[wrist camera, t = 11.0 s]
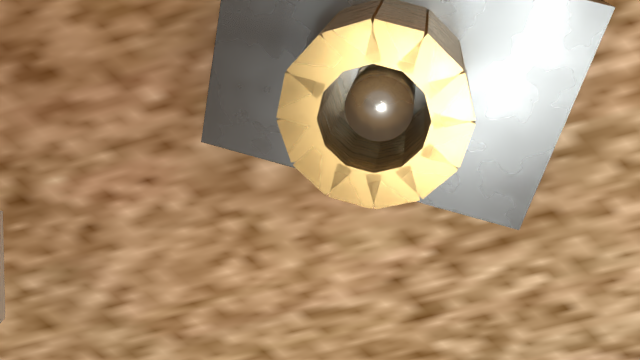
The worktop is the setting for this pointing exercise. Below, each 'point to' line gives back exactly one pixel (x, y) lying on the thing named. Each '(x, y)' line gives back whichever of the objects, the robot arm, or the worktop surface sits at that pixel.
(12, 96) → the worktop surface
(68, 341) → the worktop surface
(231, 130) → the shaft stand
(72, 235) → the worktop surface
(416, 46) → the ring
